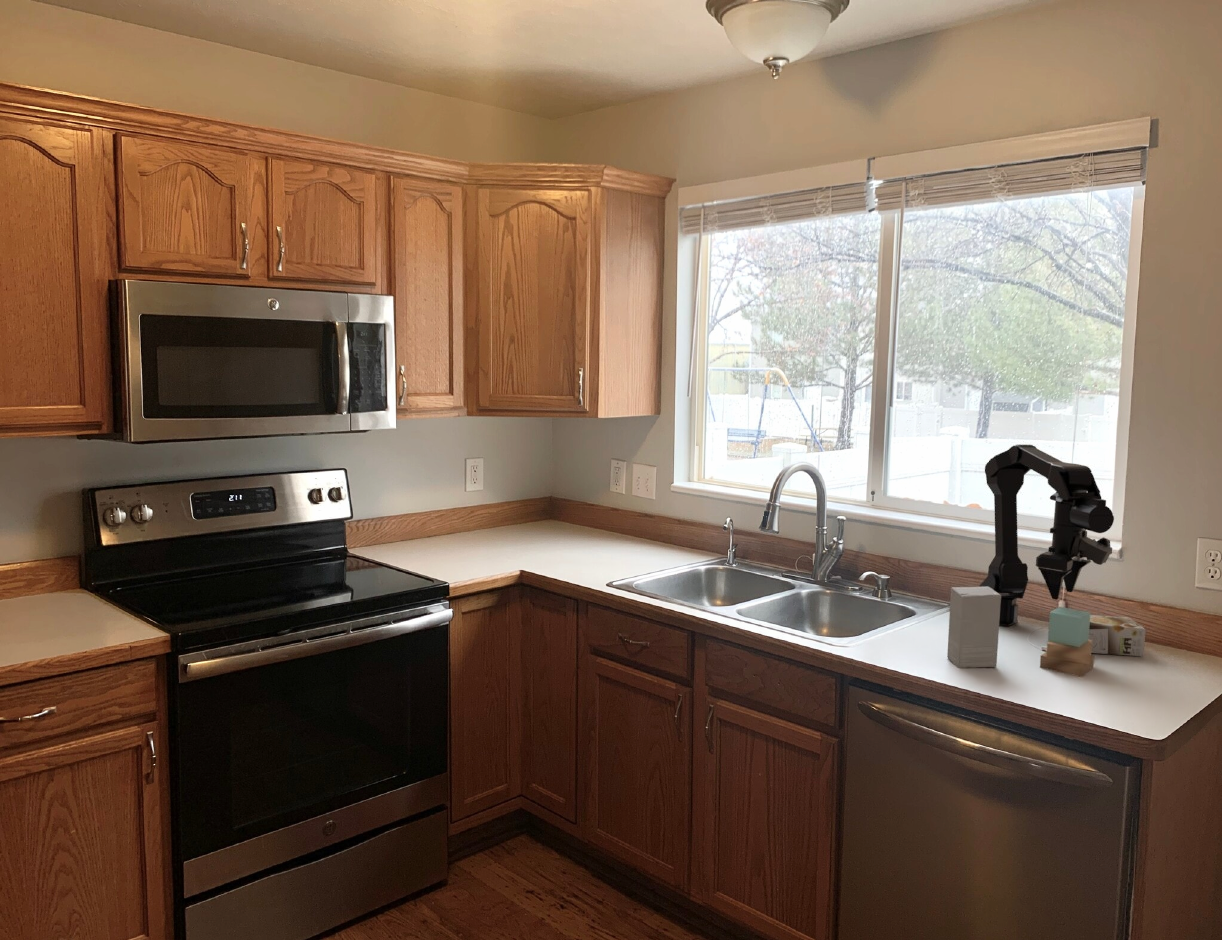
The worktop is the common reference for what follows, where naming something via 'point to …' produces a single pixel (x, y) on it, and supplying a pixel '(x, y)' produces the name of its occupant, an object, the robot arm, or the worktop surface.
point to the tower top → (1070, 652)
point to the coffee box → (1116, 635)
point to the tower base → (1066, 666)
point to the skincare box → (973, 626)
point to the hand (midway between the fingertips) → (1062, 595)
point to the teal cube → (1069, 626)
